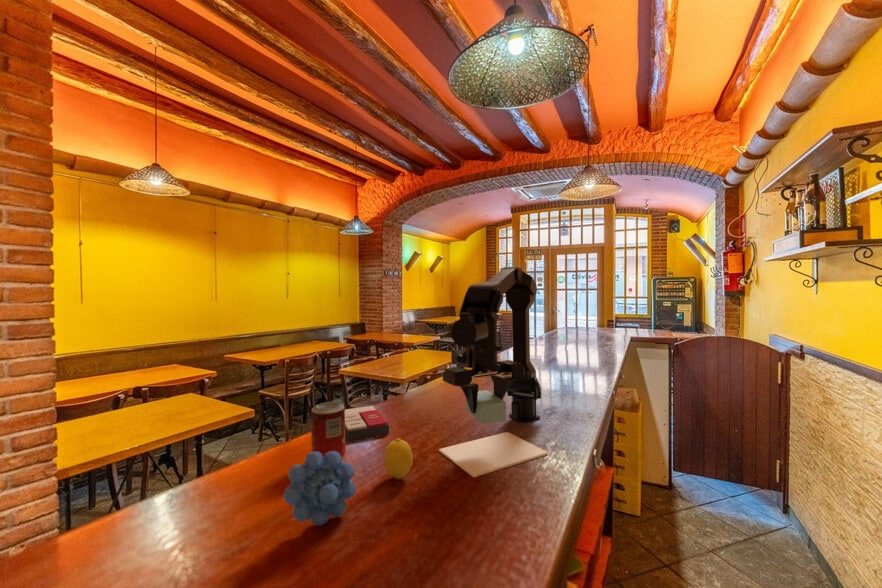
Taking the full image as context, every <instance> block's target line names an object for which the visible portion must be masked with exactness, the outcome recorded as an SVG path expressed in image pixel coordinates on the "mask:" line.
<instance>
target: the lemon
mask: <svg viewBox="0 0 882 588" xmlns="http://www.w3.org/2000/svg"><path fill="white" fill-rule="evenodd" d="M413 461H414V460H413V452H412V448H411V446H410V444H409V443H408V442H407V441H405V440H404V439H401V438H399V437H397V438H395V439H394V440H392V441H390V442H389V443H388V445H387V446H386V448H385V452H384V457H383V463H384V468H385V470H386V472H387V473H388V475H390V476H391V477H393V478H395V479H396V480H401V478H402V477H405V476H406V475H407V474H408V473H409V472H410V470H412V469H411V468H412V465H413Z"/></svg>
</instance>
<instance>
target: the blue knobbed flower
mask: <svg viewBox="0 0 882 588" xmlns="http://www.w3.org/2000/svg"><path fill="white" fill-rule="evenodd" d="M342 461H343V458H341V456H340V454H339V453H338V452H336V451H329V452H328V453H326V455H325V456H324V458H323V456H322V454H321V453H319V452H316V451H313V452H312V451H310V452H309V453H307V455H306V456H305V458H304V464H295V465H293V466H291V468H290V469H289V472H288V476H287V477H288V479H289V482H290V483H291V484H289V485H288V486H286V488H285V489H284V491H283V500H284V502H285V503H286V504H288V505H289V506H293V508H292V513H291V514H292V516H293V518H294V519H295V520H296V521H298V522H306V521H308V520H309V519H310V521H311V523H312V524H313V525H315V526H317V527H321V526H323V524H324V525H325V524H327V523H328V521H329V519H330V516H332V517H335V518H336V517H341V516H343V515H344V514H345V512H346V510H347V503H346V500H350V499H351V498H354V497H355V494H356V490H357V487H356V486H355V484H354V482H353V481H351V480H352V478H353V477H354V475H355V469H354V467H353V465H352V464H351V463H349V462H342Z"/></svg>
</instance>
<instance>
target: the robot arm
mask: <svg viewBox="0 0 882 588" xmlns="http://www.w3.org/2000/svg"><path fill="white" fill-rule="evenodd" d="M537 291H538V288H537V283H536V281H535V280H534V277H533V276H532V275H530V274H529V273H527V272H525V271H523V269H522V268H521V267H519V266H517V265H516V266H504V267H501V268H500V269H499V271H498V272H497V273H496V274H494V275H493V276H492V277H491V278H489V279H488V280H487V281H484V282H483V281H482V282H478V283H474V284H470V285H469V287H467V290H466V292H465V295H464V298H463V300H462V303H461V306H460V307H461V308H460V310H459V314H458V315H459V319H457V320H455V322H454V323H453V325H452V327H451V330H450V335H451V337H452V341H453V342H454V343H455V344H456V345H457V346H458V347H461V348H467V351H462V349H454V350H451V353H450V354H451V355H450V360H451V364H452V365H454V367H447V368H444V371H443V372H442V382H444V383H446V384H450V385H451V386H454V387H460V389H461V390H462V392H463V394H464V396H465V401H466V400H467V402H468V405H469V408H470V411H471V413H473V414H474V413H475V412H476V407H477V396H478V391H479V384H477V383H475V379H476V378H483V377H489V376H490V378H491V381H492V382H493V383H492V384H493V394H494V395H495V396H497V397H499V398H500V399H502V400H503V401H504V398H505V396H506V394H507V397H511V399H512V400H511V413H509V414H508V417H510V418H512V419H515V420H516V421H517V420H518V421H519V422H521V423H527V422H531V421H535V419H536V420H539V418H540V419H541V416H539V415H537V400H539V399H542V387H541V384H540V382H539V379H538V378H537V370H536V369H535V367H534V365H533V363H532V362H531V354H530V353H531V346H530V345H531V344H530V343H531V341H530V338H531V337H530V309H531V307H532V306H533V304H534V303H535V300H536V295H537ZM504 294H505V301H506V303H507V305H508V306H509V308H510V309H511V311H512V312H511V316H512V319H511V320H512V322H511V324H512V325H511V326H512V360H510V359H506V360H498V352H500V351H502V346H501V345H498V320H499V319H500V316H499V314H498V313H499V311H500V309H501V306H502V304H503V302H504ZM455 365H458V366H455ZM466 368H467V369H466ZM471 413H470V414H471Z"/></svg>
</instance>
